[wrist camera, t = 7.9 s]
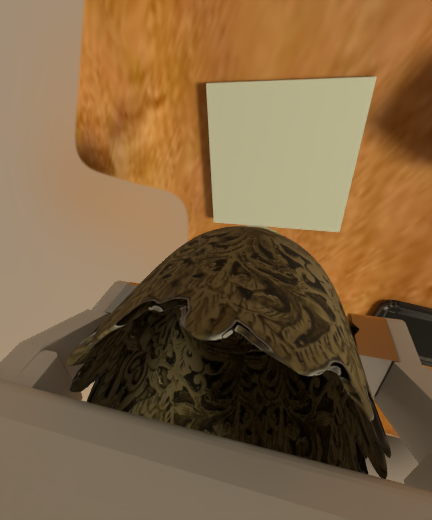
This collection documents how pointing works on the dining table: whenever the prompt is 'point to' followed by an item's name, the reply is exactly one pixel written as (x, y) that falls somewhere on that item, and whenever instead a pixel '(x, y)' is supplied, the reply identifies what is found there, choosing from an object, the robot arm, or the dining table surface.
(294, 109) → the sage board
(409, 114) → the dining table surface
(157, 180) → the dining table surface
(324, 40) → the dining table surface
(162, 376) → the cup
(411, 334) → the phone
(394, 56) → the dining table surface
